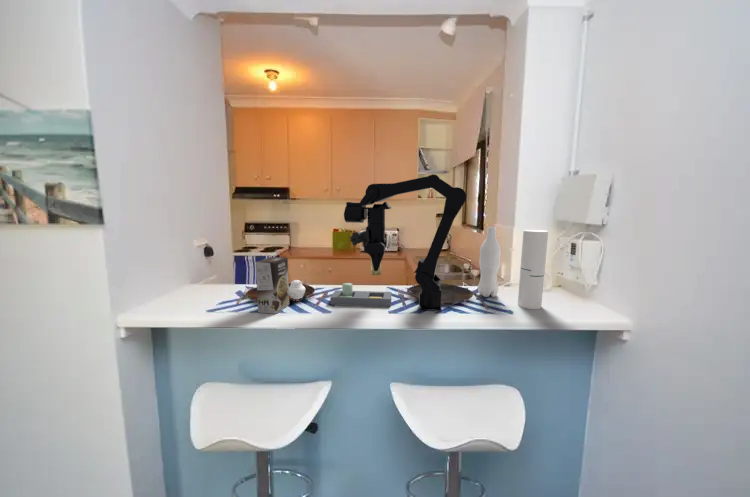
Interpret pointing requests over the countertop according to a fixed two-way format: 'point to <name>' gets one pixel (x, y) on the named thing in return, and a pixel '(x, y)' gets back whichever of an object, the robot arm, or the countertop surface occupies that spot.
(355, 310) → the countertop surface
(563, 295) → the countertop surface
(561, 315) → the countertop surface
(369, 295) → the panel
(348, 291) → the sage plug
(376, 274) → the brass plug
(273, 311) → the coffee box
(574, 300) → the countertop surface
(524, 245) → the cylindrical container
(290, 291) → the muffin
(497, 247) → the water bottle
